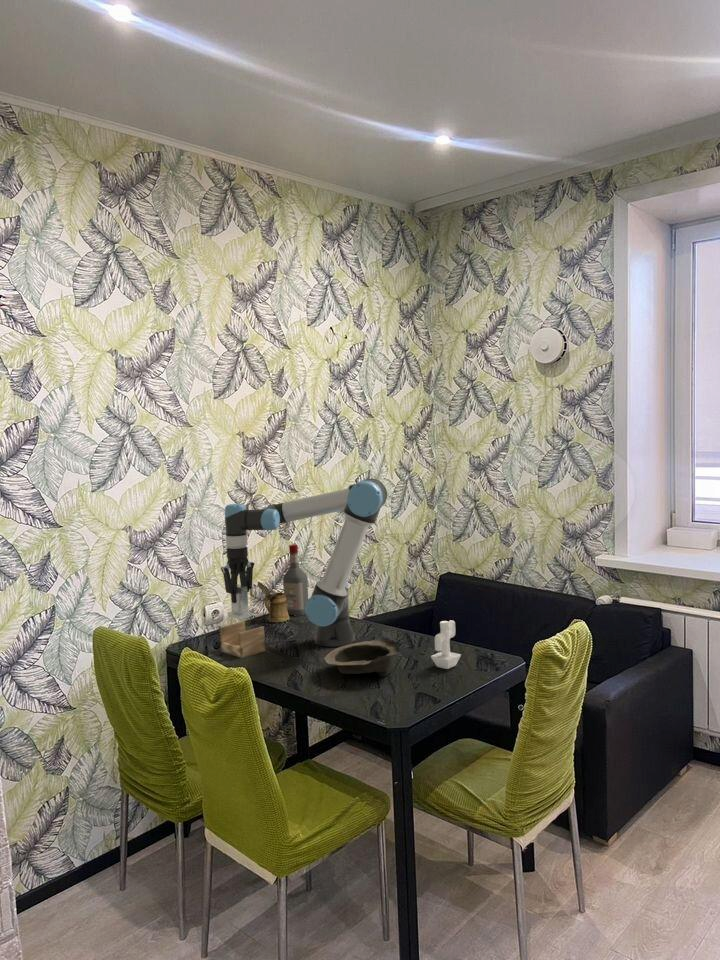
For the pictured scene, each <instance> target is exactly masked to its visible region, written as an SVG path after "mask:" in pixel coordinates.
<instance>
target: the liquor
mask: <svg viewBox="0 0 720 960" xmlns="http://www.w3.org/2000/svg"><path fill="white" fill-rule="evenodd" d="M288 548H289V549H288V550H289V560H290V561H289V564H290V565H289V568H288V569H287V571H286V572H285V573H284V575H283V577H282V585H283V588H282V589H283V593H284V594H285V597H286V605H287V611H288V615H296V616H295V617H300V616H299V615H303V616H304V614H305V615H306V612H305V607H306V603H307V601H308V599H309V585H308V574H307V573H306V572H305V571H304V570H303V569H302V568H301V567H300V565H299V555H298V554H299V553H298V552H299V546H298V544H290V545H288Z"/></svg>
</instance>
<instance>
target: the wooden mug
mask: <svg viewBox="0 0 720 960" xmlns="http://www.w3.org/2000/svg"><path fill="white" fill-rule="evenodd" d="M257 587H258V588H259V589H260V590H261V591H262V592H263V593H264V594H265V595H264V600H263V604H264V606H265V608H266V610H267V611H268V619H267V621H268V622H269V623H271V622H273V624H279V622H282V623H285V622H284V621H286V622H288V621H289V620H290V619H291V618H290V616H289V615H288V611H287V605H286V597H285V594H284V592H273V593H271V592H270V589H268V587H267V586H266V585H264V584H263V583H261V581H258V582H257ZM287 620H288V621H287ZM274 622H275V623H274Z"/></svg>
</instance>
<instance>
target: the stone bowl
mask: <svg viewBox="0 0 720 960" xmlns="http://www.w3.org/2000/svg"><path fill="white" fill-rule="evenodd" d="M398 645H399V642H398V641H394V640H392V639H390V638H388V637H378V638H376V639H372V640H369V641H367V640H366V641H365V640H364V641H360V642H355V643H354V642H353V643H351V644H348V645H344V646H338V647H337V648H336V647H335V648H334V649H333V650H332V651H330V652H329V653H327V655H326V656H325V657H324V659H323V660H325V662H326V664H328V665H335V666H336V668H337V669H338V671H339V672H340V673H341V674H343V675H351V674H353V675H356V674H357V675H360V674H366V673H367V674H370V673H373V672H374V673H375V674H377V675H378V676H379V677H384V678H385V677H387V676H388V675H389V674H390V673H391V672H393V669H394V666H395V665H394V664H395V663H394V657H393V656H394V655H396V654H400V649H399V646H398Z"/></svg>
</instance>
